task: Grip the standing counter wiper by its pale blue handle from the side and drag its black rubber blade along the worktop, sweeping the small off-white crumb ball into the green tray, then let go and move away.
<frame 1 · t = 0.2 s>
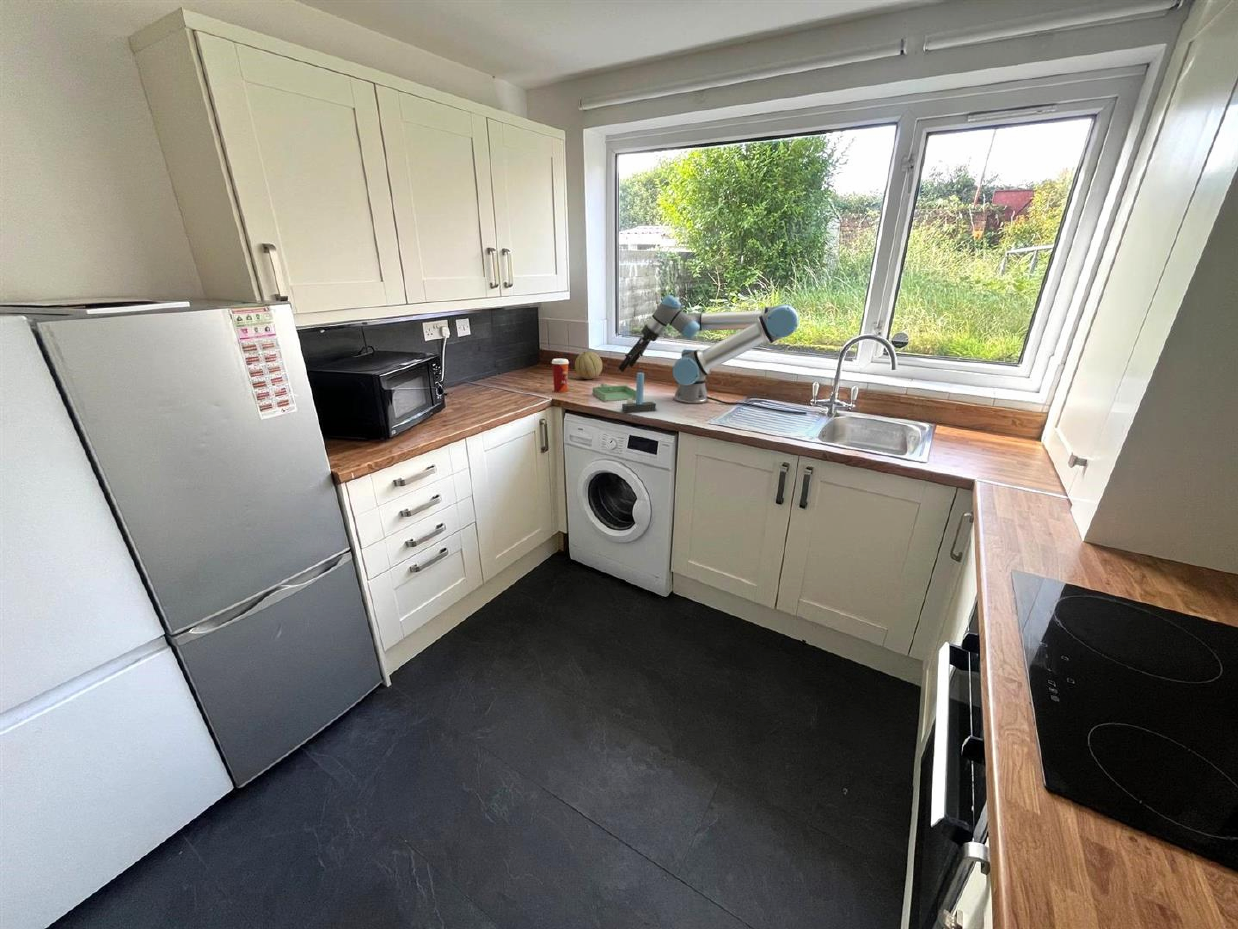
hand: (625, 367, 224), 15 cm above the countertop, tool tilted 35°, fingers open, 13 cm apart
coffee cup: (560, 391, 242), on the countertop
crumb ball: (630, 401, 219), point 2 cm above the countertop
green tray: (615, 396, 234), on the countertop
wiper: (638, 410, 212), on the countertop
cantaloupe: (588, 379, 269), on the countertop
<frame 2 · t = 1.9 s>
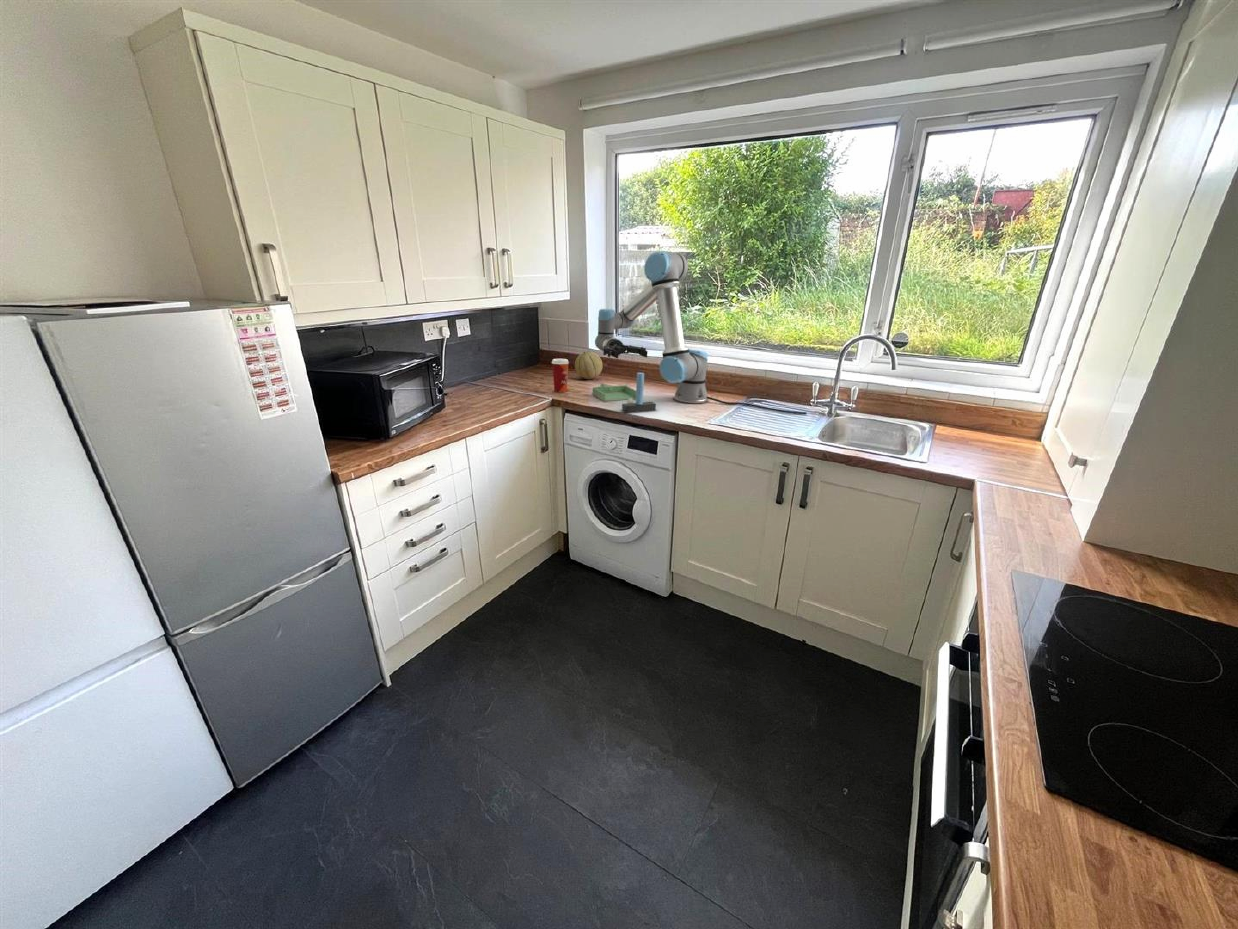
hand: (632, 354, 212), 22 cm above the countertop, tool horizontal, fingers open, 13 cm apart
nothing on the countertop moved.
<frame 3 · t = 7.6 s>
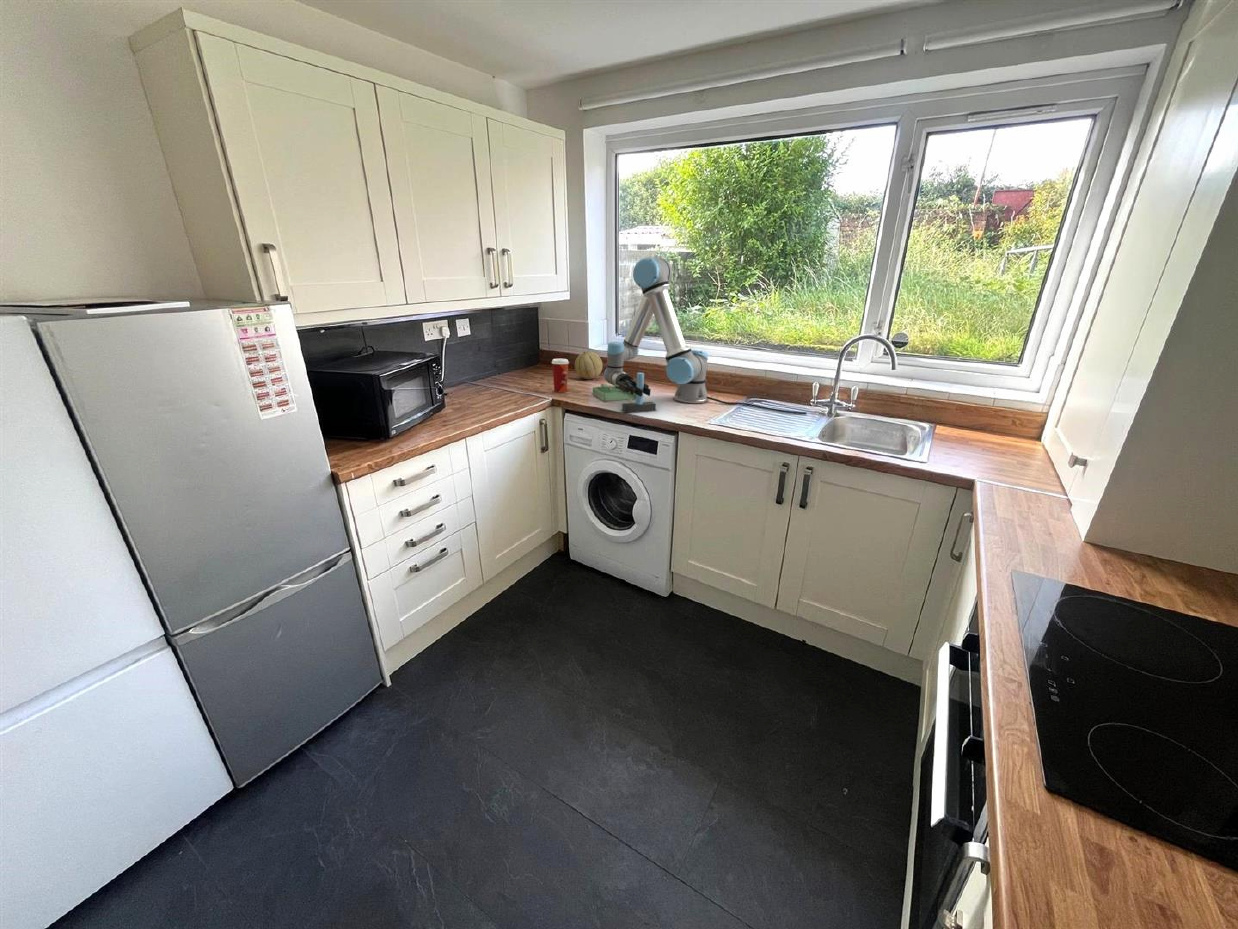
hand: (645, 392, 204), 9 cm above the countertop, tool horizontal, fingers closed on wiper, 3 cm apart
wiper: (638, 410, 212), on the countertop, touching gripper
everything else where it was.
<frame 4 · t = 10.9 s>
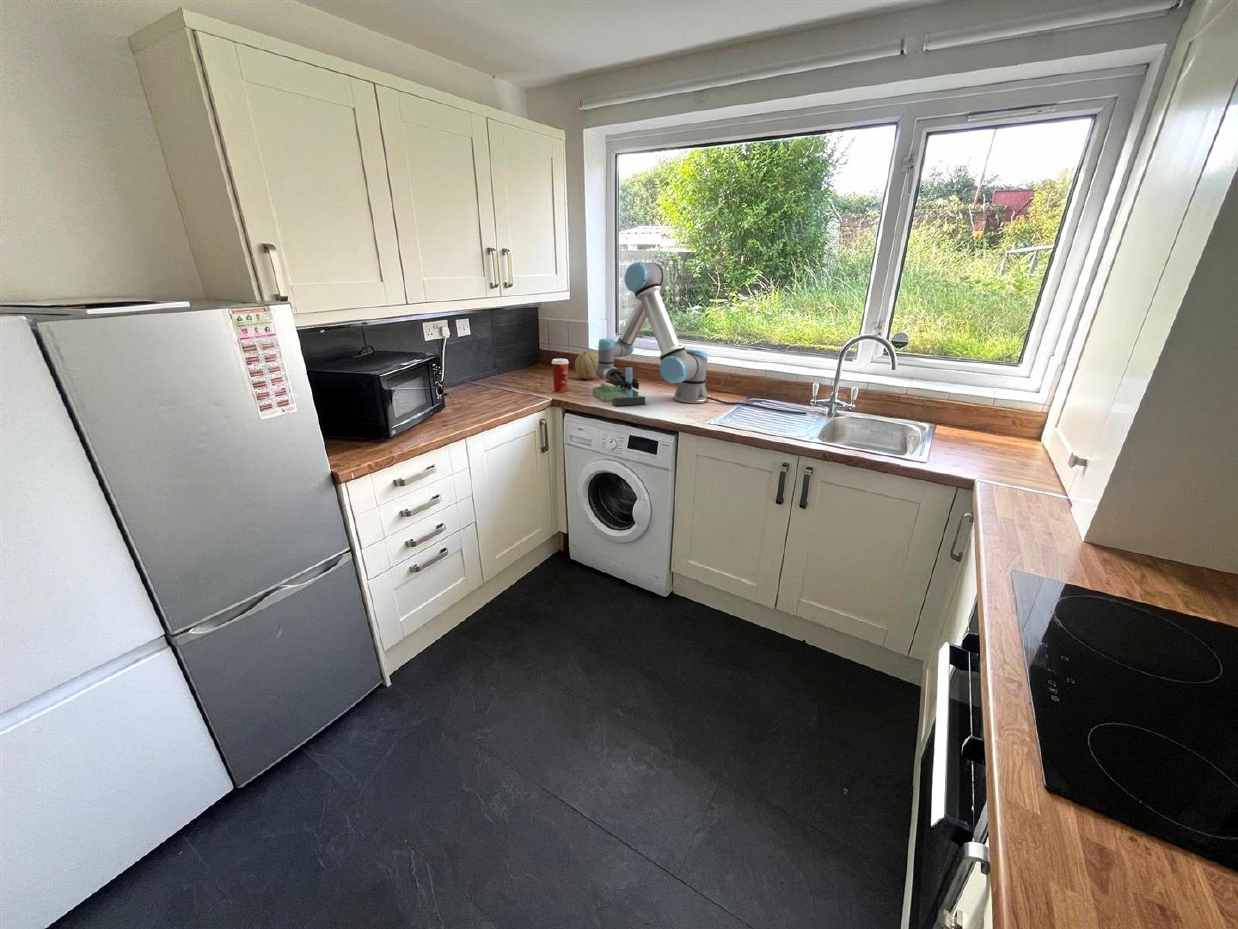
hand: (634, 386, 214), 9 cm above the countertop, tool horizontal, fingers closed on wiper, 3 cm apart
crumb ball: (622, 397, 227), point 2 cm above the countertop, tilted 41°
wiper: (629, 404, 221), on the countertop, tilted 7°, touching gripper
everything else where it was.
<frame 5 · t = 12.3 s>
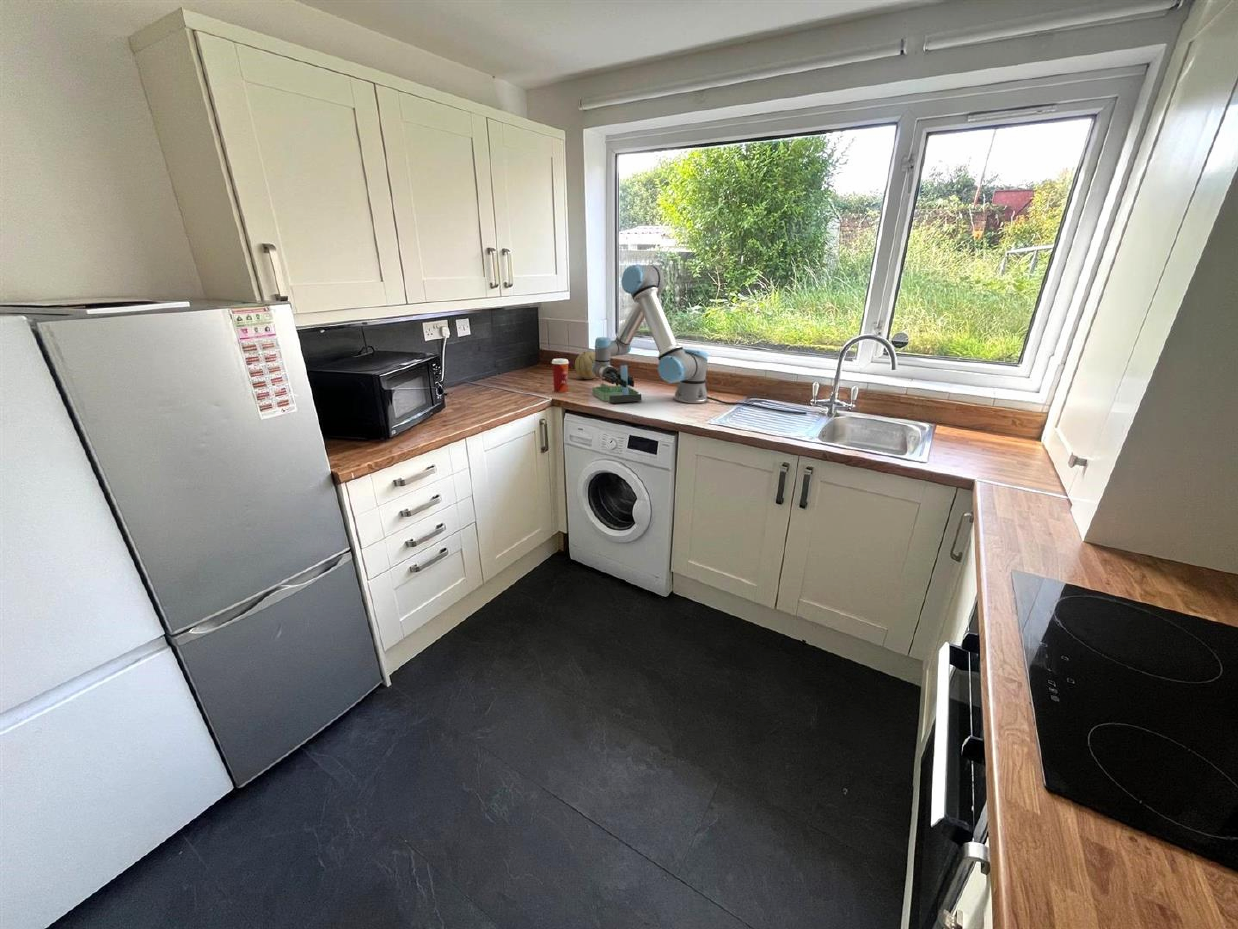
hand: (629, 384, 218), 9 cm above the countertop, tool horizontal, fingers closed on wiper, 3 cm apart
crumb ball: (622, 397, 227), point 2 cm above the countertop, tilted 35°, touching wiper
wiper: (625, 401, 224), on the countertop, tilted 14°, touching crumb ball, gripper
everything else where it was.
when the fingers open (9 cm above the countertop, at t = 12.8 s): wiper stays where it is, on the countertop.
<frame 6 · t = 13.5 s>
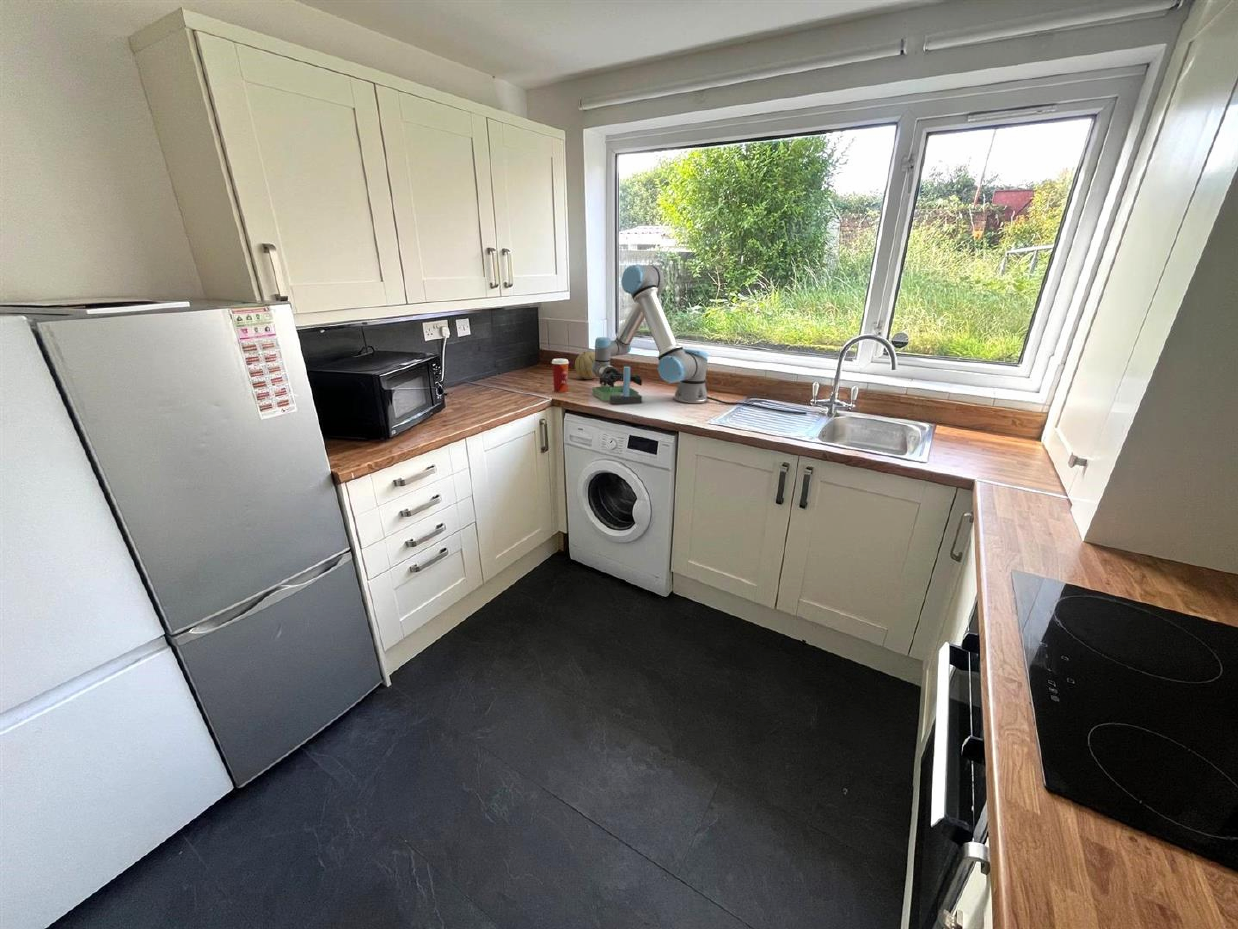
hand: (627, 383, 220), 9 cm above the countertop, tool horizontal, fingers open, 13 cm apart
crumb ball: (622, 397, 227), point 2 cm above the countertop, tilted 45°
wiper: (625, 402, 224), on the countertop
everything else where it was.
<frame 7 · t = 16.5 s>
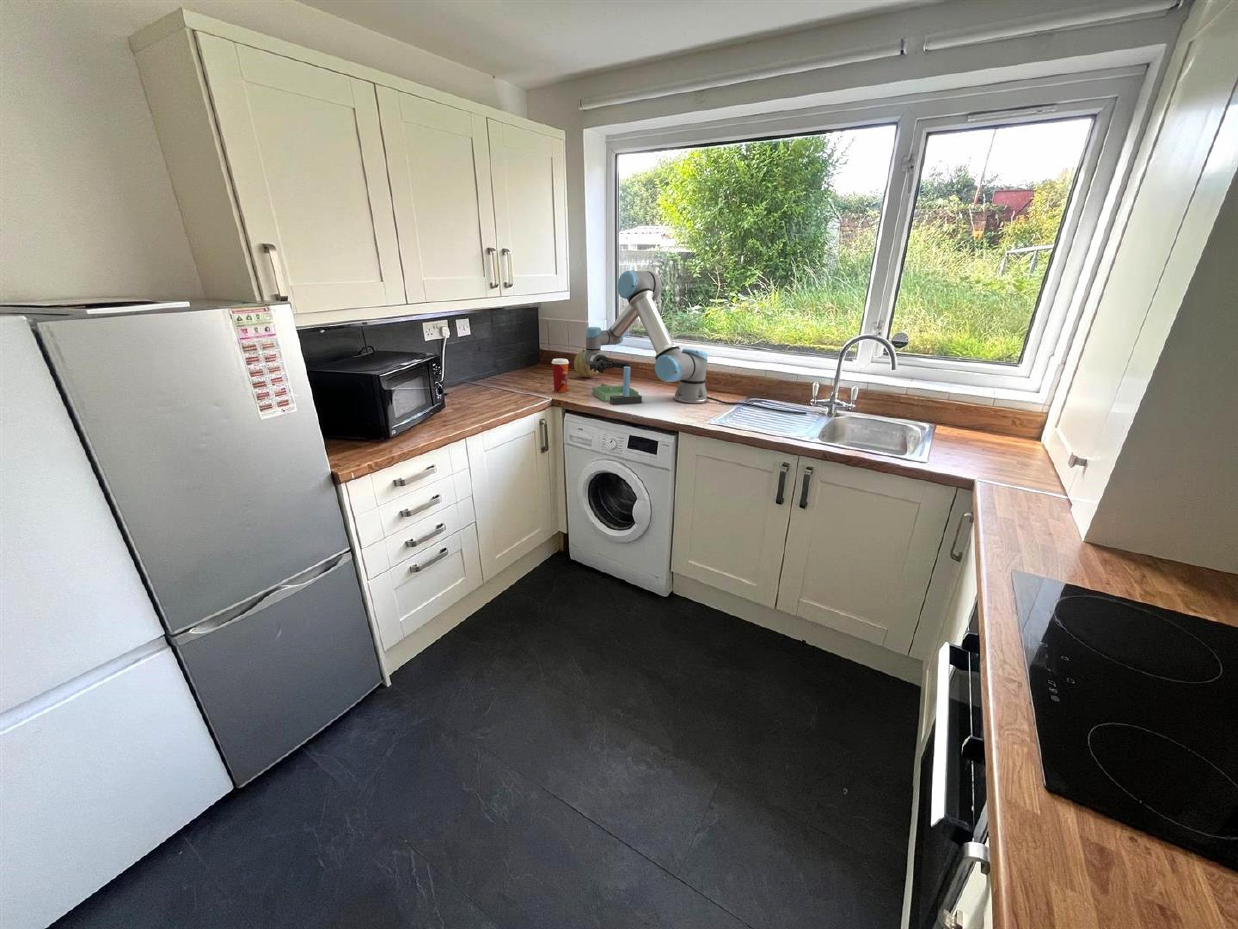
hand: (616, 369, 230), 13 cm above the countertop, tool horizontal, fingers open, 13 cm apart
cantaloupe: (587, 377, 271), on the countertop
everything else where it was.
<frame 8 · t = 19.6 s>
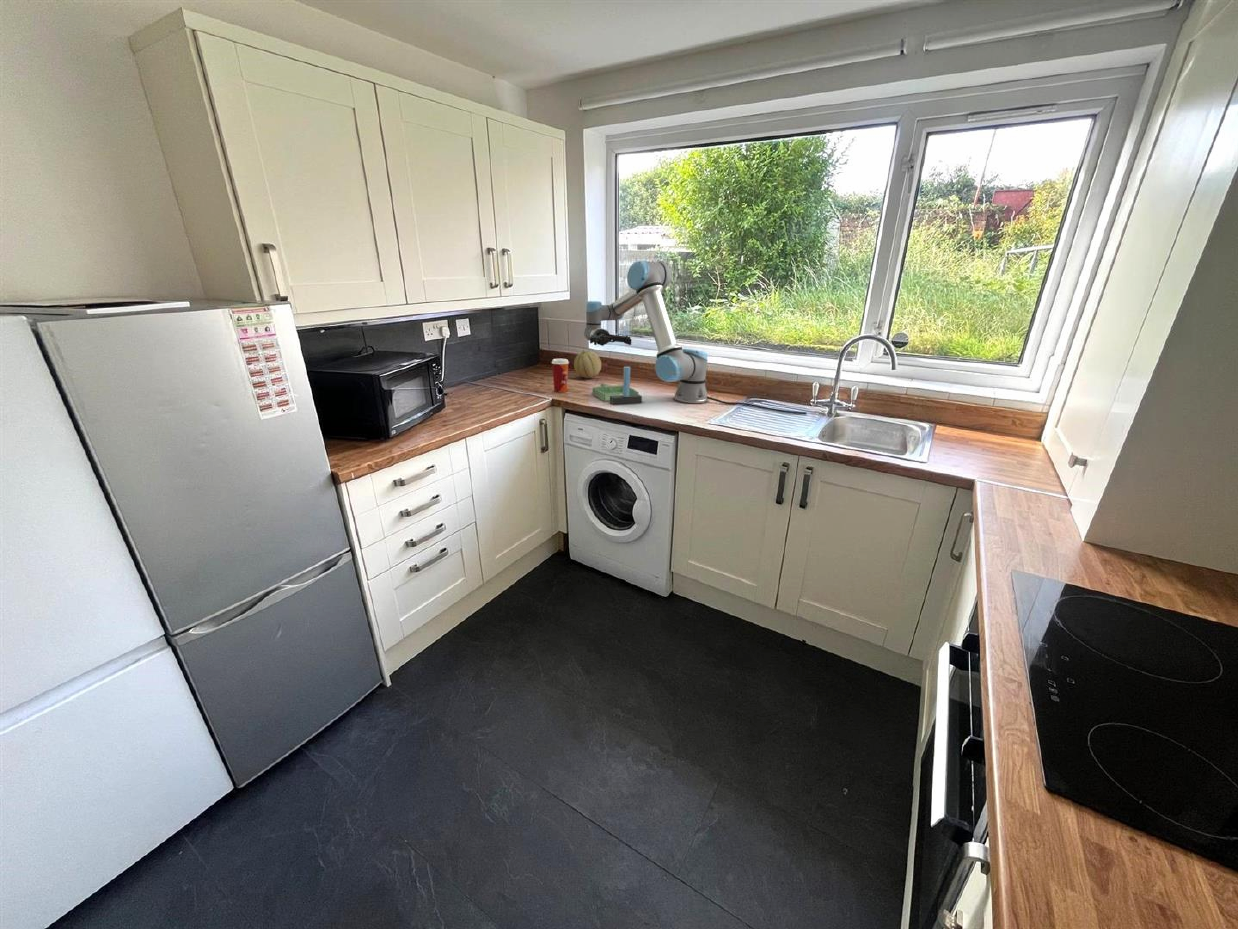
hand: (616, 342, 225), 25 cm above the countertop, tool horizontal, fingers open, 13 cm apart
crumb ball: (622, 397, 227), point 2 cm above the countertop, tilted 35°
at the end: crumb ball inside the target area in the green tray (8.0 cm from its centre), point 1.6 cm above the green tray's base; wiper moved 14.0 cm from its start; wiper tilted 0° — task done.
